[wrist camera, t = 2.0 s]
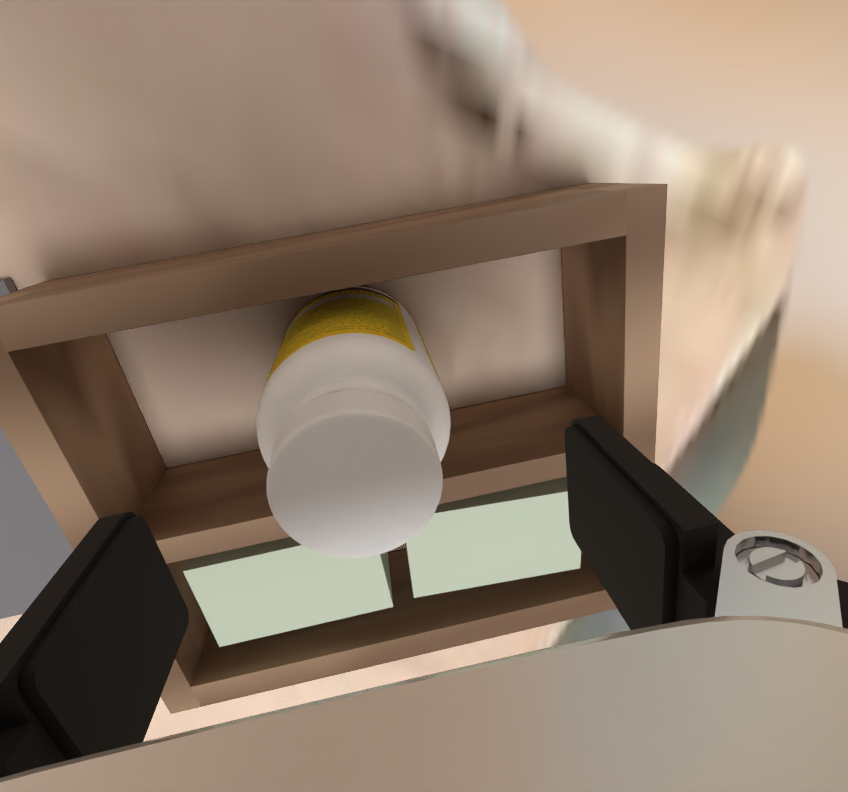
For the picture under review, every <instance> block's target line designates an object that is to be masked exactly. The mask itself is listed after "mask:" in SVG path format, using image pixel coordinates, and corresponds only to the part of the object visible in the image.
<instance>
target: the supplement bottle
mask: <svg viewBox="0 0 848 792" xmlns="http://www.w3.org/2000/svg"><path fill="white" fill-rule="evenodd" d="M450 427H451V422H450V411H449V405H448V401H447V398H446V395H445V392H444V389H443V387H442V384H441V382H440V379H439V377H438V375H437V372H436V370H435V368H434V366H433V363H432V361H431V359H430V356H429V354H428V351H427V349H426V347H425V344H424V342H423V340H422V337H421V335H420V333H419V330H418V328H417V326H416V324H415V323H414V321H413V319H412V318H411V316H410V315H409V313H408V312H407V311H406V309H405V308H404V307H403V306H402V305H401V304H400V303H398V302H397V301H396V300H395V299H393V298H392V297H390V296H389V295H387V294H385V293H383V292H381V291H378V290H375V289H372V288H369V287H363V286H355V287H349V288H344V289H339V290H334V291H328V292H323V293H320V294H318V295H317V296H315V297H313V298H312V299H311V300H309V301H308V302H307V303H306V304H305V305H304V306H303V307H302V308H301V309H300V310H299V311H298V313H297V314H296V315H295V317H294V318H293V320H292V321H291V323H290V324H289V327H288V329H287V331H286V334H285V336H284V339H283V341H282V344H281V346H280V349H279V352H278V354H277V356H276V359H275V361H274V364H273V366H272V369H271V372H270V374H269V377H268V379H267V382H266V384H265V387H264V390H263V393H262V395H261V399H260V402H259V407H258V412H257V421H256V431H257V438H258V444H259V448H260V451H261V454H262V456H263V459H264V461H265V463H266V465H267V467H268V468H269V469H268V473H267V481H266V491H267V498H268V502H269V506H270V509H271V511H272V513H273V515H274V517H275V519H276V520H277V522H278V523H279V525H280V526H281V527H282V529H283V530H284V531H285V532H286V533H287V534H288V535H289V536H290V537H292V538H293V539H294V540H295V541H297V542H298V543H299V544H301V545H303V546H305V547H307V548H309V549H311V550H313V551H316V552H318V553H321V554H325V555H329V556H333V557H341V558H363V557H370V556H374V555H378V554H382V553H385V552H388V551H390V550H393V549H395V548H397V547H399V546H401V545H403V544H404V543H406V542H407V541H409V540H410V539H412V538H413V537H414V536H416V535H417V534H418V533H419V532H420V531H421V530H422V529H423V528H424V527H425V526H426V525H427V523H428V522H429V521H430V519H431V518H432V516H433V514H434V513H435V511H436V508H437V506H438V504H439V501H440V498H441V493H442V486H443V473H442V467H441V461H442V459H443V457H444V454H445V452H446V449H447V446H448V442H449V437H450Z"/></svg>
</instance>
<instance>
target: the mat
mask: <svg viewBox="0 0 848 792" xmlns="http://www.w3.org/2000/svg"><path fill="white" fill-rule="evenodd" d="M15 291H17V290H16V288H15V286H14V284H13V282H12V280H11V278H10V279H5V280H0V296H3V295H6V294H9V293H12V292H15ZM73 551H74V549H73V548H72V546H71V544H70V543H69V541H68V539H67V538H66V536H65V534H64V533H63V531H62V529H61V528H60V526H59V524H58V523H57V521H56V519H55V517H54V516H53V514H52V512H51V511H50V509H49V507H48V506H47V504H46V502H45V501H44V499H43V497H42V496H41V494H40V492H39V490H38V489H37V487H36V485H35V484H34V482H33V480H32V479H31V477H30V475H29V474H28V472H27V470H26V469H25V467H24V465H23V464H22V462H21V460H20V458H19V457H18V455H17V453H16V452H15V450H14V448H13V447H12V445H11V443H10V442H9V440H8V438H7V437H6V435H5V433H4V431H3V430H2V428H1V426H0V619H2V618H6V617H11V616H15V615H20V614H24V613H25V611H26V610H27V609H28V607H29V606H30V605H31V604H32V602H33V601H34V600H35V599H36V597H37V596H38V595H39V594H40V592H41V591H42V590H43V589H44V587H45V586H46V585H47V583H48V582H49V581H50V580H51V578H52V577H53V576H54V575H55V573H56V572H57V571H58V570H59V568H60V567H61V566H62V564H63V563H64V562H65V561H66V559H67V558H68V557H69V556H70V554H71V553H72V552H73Z"/></svg>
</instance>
